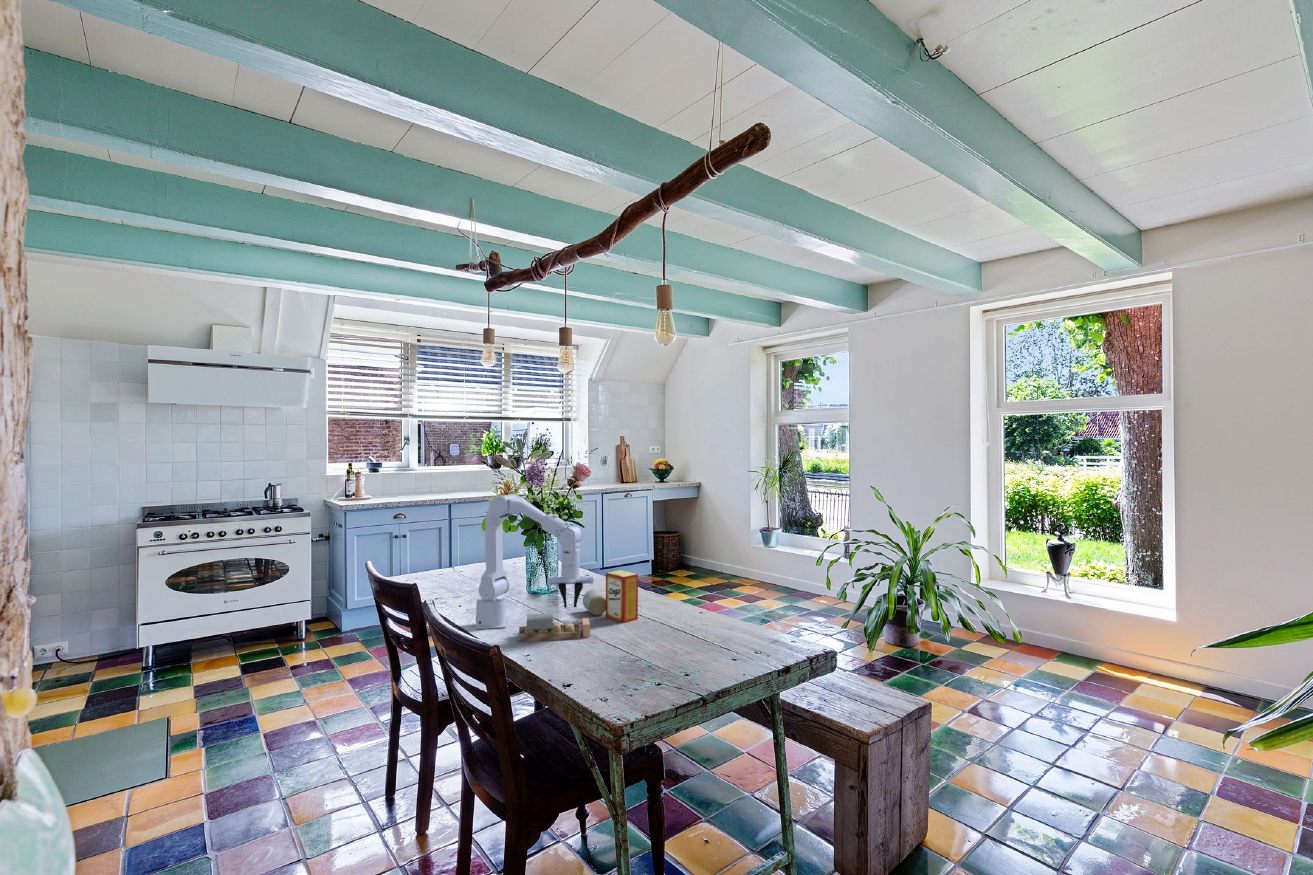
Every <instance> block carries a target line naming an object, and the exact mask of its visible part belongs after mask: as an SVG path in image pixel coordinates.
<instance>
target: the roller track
mask: <svg viewBox="0 0 1313 875" xmlns="http://www.w3.org/2000/svg"><path fill="white" fill-rule="evenodd" d="M566 624H567V623H564V624H563V623H562V624H560V623H559V622H553V628H550V629H530V630H527V625H521V626H518V630H519V631H518V635H517V639H518V640H517V642H518V643H525V642H541V641H542V642H544V641H546V642H547V641H562V640H577V639H578V640H581V631H579V629H580V624H579V623H572V624H573V625H574V628H575V632H565V626H566Z"/></svg>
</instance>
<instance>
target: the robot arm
mask: <svg viewBox="0 0 1313 875" xmlns="http://www.w3.org/2000/svg"><path fill="white" fill-rule="evenodd" d="M488 503H489V504H488V505H489V506H488V510H487V512H486V515H485V517H484V523H485V524H484V526H485V527H484V528H485V531H484V532H485V536H484V537H485V571H484V572H483V573H482V575H481V576H480V583H479V585H478V594H479V597H480V598H478V599H477V600H476V603H475V605H476V606H475V607H476V608H475V611H476V612H475V629H477V630H483V629H502V628H506V627H507V624H508V620H507V619H506V596H507V594H506V593H508V592H509V590H510V585H511V584H510V581H509V579H508V573H507V571H506V570H505V569H504V567H503V566H504V557H503V556H504V555H503V551H504V550H503V547H504V546H503V522H504V521H505V520H506V519H508V517H510V516H511V515H513V514H522V515H524V516H526V517H528V519H529V518H530V519H532V520H534V521H535V522H537V523H539V524H540V525H541V528H542V529H541V530H544V531H545V532H546V533H548V534H550V535H552V536H553V537H555V538H556V539H557V540H558V542H559V543H560V546H561V547H560V548H561V560H560V561H561V570H560V571H561V575H560V576H558V577H547V578H546V581H547V582H546V583H547V584H546V585H547V586H554V585H557V586H558V587H557V588H558V590H559V592H560V594H561V598H562V602H563V606H564V608H565V609H567V606H568V604H567V585H574V586H573V588H574V590H573V591H574V597H573V608H577V605H578V601H579V600H578V599H579V597H580V594H581V593H582V590H583V588H584V584H589V585H594V576H583V575H580V565H581V564H580V563H581V562H580V558H581V556H580V554H581V553H580V546H581V545H580V543H581V541H582V539H583V531H582V529H581V528H580V527H579V526H578V525H577V524H571V523H570V522H569V521H565V520H564V519H562V518H560V517H559V515H558V514H557V513H549V514H546V513H545V512H544V511H542V510H540V509H539V508H537V507H536V506H535V505H533V504H532V503H530V502H528V501H527V500H526V499H525V497H523V496H520V495H519V494H517V493H510V494H505V495H497V496H495V497H494V498H492V499H491V500H490V501H489V502H488Z"/></svg>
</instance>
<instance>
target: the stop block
mask: <svg viewBox="0 0 1313 875" xmlns="http://www.w3.org/2000/svg"><path fill="white" fill-rule="evenodd" d="M581 633H582V637H583V638H590V637H591V624H590V620H589V617H583V618H581Z"/></svg>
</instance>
